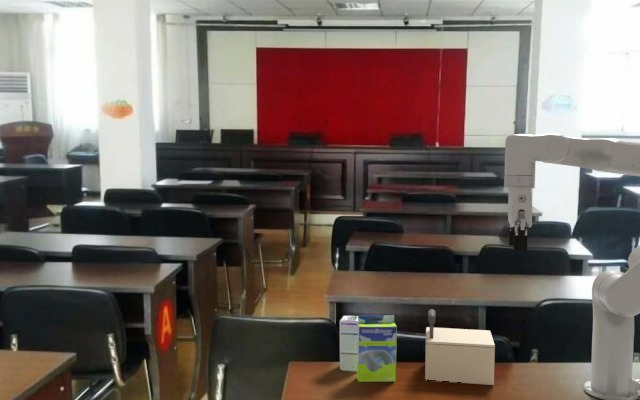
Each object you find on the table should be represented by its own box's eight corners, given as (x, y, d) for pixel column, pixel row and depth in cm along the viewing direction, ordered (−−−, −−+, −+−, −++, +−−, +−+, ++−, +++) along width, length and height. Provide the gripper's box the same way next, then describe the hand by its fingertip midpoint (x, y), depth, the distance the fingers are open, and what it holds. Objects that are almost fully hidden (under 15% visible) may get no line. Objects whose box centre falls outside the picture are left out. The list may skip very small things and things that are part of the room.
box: (357, 382, 165) (358, 319, 164) (356, 377, 169) (356, 315, 168) (396, 382, 166) (397, 318, 164) (394, 376, 170) (395, 314, 168)
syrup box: (359, 372, 173) (360, 321, 172) (339, 370, 174) (339, 319, 173) (362, 365, 179) (362, 316, 178) (342, 363, 180) (342, 314, 179)
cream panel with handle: (490, 332, 177) (490, 309, 176) (494, 347, 163) (495, 322, 163) (426, 329, 180) (426, 306, 180) (425, 343, 166) (426, 319, 166)
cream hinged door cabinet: (489, 367, 177) (489, 333, 177) (493, 385, 164) (494, 348, 163) (425, 363, 181) (426, 329, 180) (425, 380, 167) (425, 344, 166)
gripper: (540, 184, 150) (538, 253, 151) (529, 181, 167) (527, 244, 168) (508, 183, 151) (506, 252, 152) (500, 180, 168) (499, 243, 169)
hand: (517, 248), depth 160 cm, fingers open, 9 cm apart
